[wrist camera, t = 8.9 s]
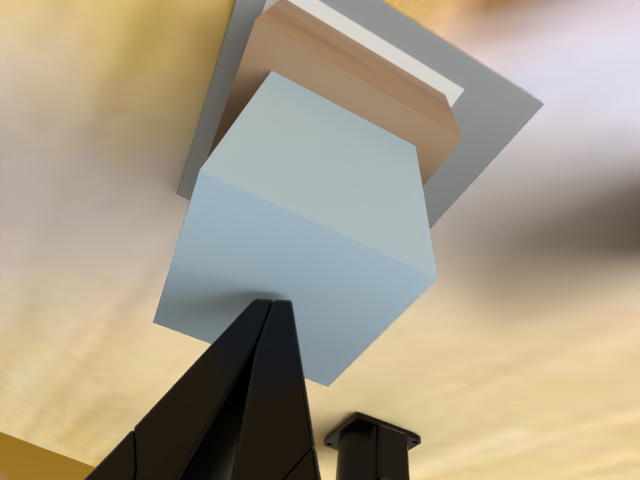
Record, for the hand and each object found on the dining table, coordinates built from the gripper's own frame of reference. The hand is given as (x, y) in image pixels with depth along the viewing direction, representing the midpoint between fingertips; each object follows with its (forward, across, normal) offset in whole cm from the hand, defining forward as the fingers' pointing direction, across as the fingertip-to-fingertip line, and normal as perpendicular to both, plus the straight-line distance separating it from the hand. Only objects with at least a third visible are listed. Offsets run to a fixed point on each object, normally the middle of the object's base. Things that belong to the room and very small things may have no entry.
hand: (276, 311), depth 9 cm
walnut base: (+10, 0, 0) cm, 10 cm away
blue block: (+6, 0, 0) cm, 6 cm away
